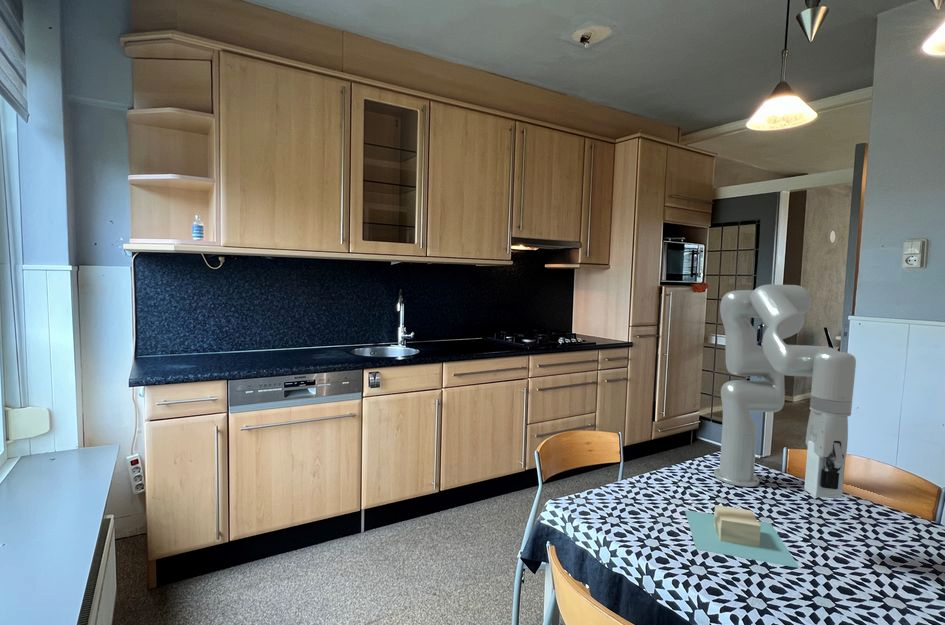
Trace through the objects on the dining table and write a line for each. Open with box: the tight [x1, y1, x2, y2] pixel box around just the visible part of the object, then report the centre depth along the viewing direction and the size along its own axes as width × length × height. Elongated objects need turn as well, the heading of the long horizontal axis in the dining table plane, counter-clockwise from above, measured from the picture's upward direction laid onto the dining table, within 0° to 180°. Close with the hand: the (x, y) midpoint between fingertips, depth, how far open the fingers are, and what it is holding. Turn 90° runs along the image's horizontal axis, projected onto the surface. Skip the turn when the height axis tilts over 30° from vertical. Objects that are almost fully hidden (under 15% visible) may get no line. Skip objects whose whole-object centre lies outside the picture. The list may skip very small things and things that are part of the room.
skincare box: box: [804, 441, 846, 499], centre depth 108 cm, size 6×4×12 cm
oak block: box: [714, 504, 761, 547], centre depth 112 cm, size 8×8×5 cm
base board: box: [684, 509, 800, 569], centre depth 112 cm, size 20×20×1 cm
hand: (823, 481), depth 108 cm, fingers closed on skincare box, 5 cm apart
